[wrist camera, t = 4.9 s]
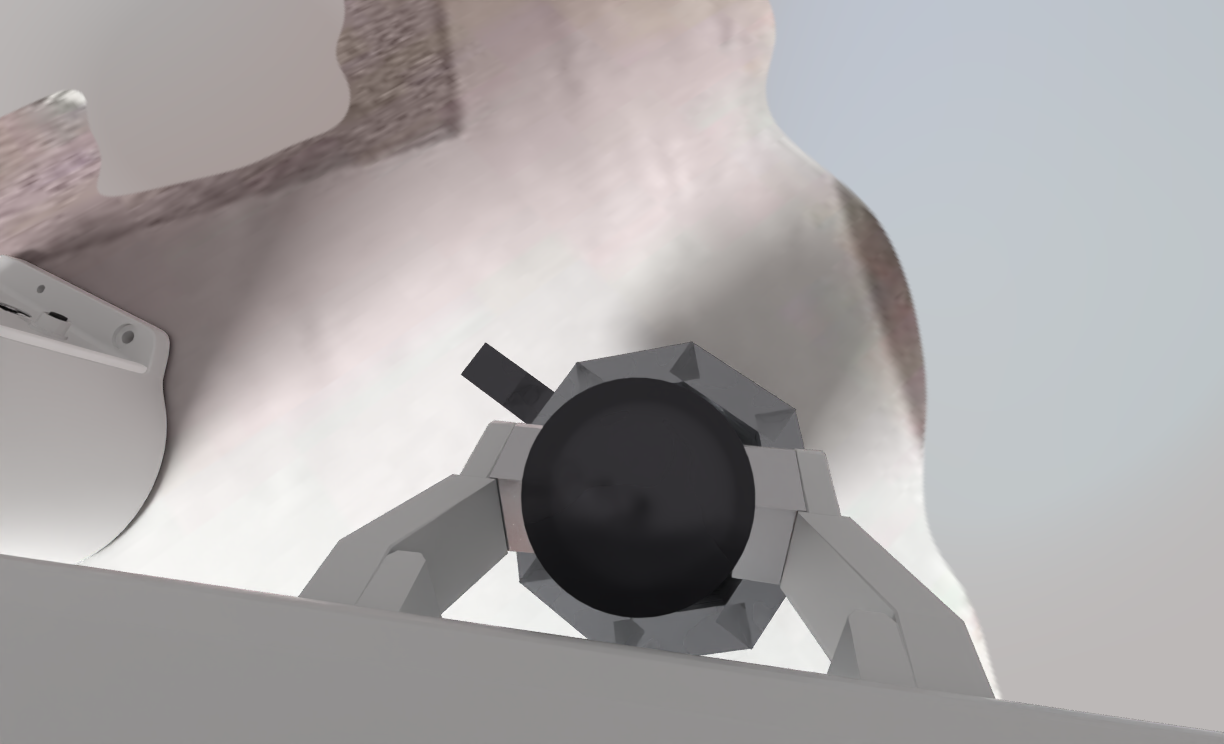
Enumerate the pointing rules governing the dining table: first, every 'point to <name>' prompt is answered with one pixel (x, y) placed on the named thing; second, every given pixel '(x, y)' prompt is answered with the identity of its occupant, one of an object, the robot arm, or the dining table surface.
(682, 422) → the plunger
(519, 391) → the press carafe
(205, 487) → the dining table surface
